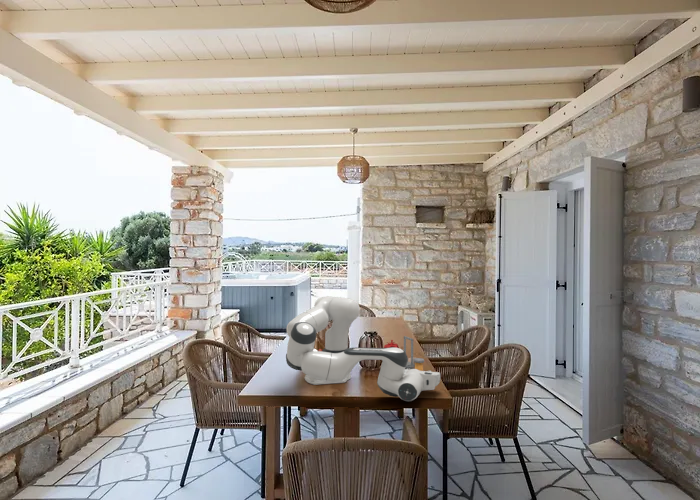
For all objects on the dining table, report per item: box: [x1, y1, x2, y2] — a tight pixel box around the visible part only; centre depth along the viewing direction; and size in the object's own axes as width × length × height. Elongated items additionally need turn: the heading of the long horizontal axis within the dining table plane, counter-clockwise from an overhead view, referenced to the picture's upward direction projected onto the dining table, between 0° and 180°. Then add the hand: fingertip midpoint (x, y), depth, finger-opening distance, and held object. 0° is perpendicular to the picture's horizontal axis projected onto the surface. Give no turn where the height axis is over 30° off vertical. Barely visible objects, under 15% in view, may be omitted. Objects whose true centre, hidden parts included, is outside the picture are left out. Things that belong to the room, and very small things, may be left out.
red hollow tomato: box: [383, 339, 400, 348], centre depth 236 cm, size 10×10×9 cm
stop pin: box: [414, 357, 425, 371], centre depth 181 cm, size 5×5×12 cm
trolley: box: [403, 335, 414, 369], centre depth 193 cm, size 13×9×19 cm
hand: (419, 371), depth 181 cm, fingers open, 8 cm apart
